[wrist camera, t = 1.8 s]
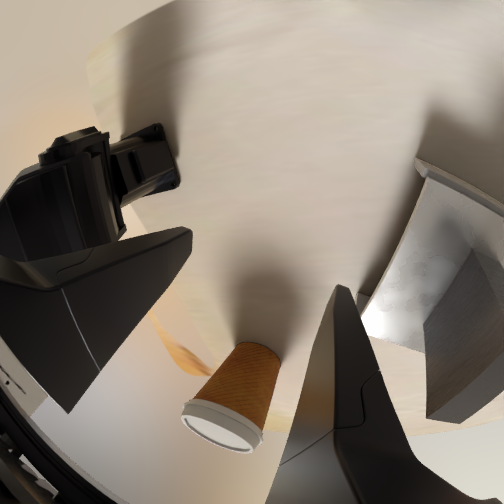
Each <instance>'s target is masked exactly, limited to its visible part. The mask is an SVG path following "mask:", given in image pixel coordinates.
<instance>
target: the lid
mask: <svg viewBox="0 0 504 504" xmlns="http://www.w3.org/2000/svg"><path fill="white" fill-rule="evenodd" d="M360 317H361V319H362V322H363V324H364V327H365V330H366V332H367V334H368V335H371V336H374V337H377V338H379V339H382V340H385V341H388V342H391V343H394V344H397V345H400V346H404V347H407V348H410V349H413V350H416V351H419V352H422V353H425V357H426V386H427V397H426V419H432V420H437V421H443V422H450V423H457V424H460V423H462V422H463V421H465V420H466V419H468V418H469V417H470V416H472V415H473V414H475V413H476V412H477V411H479V410H480V409H481V408H483V407H484V406H485V405H486V404H488V403H489V402H490V401H491V400H493V399H494V398H495V397H496V396H498V395H499V394H500V393H501V392H502V391H503V390H504V217H503V216H501V215H500V214H498V213H497V212H495V211H493V210H492V209H490V208H488V207H487V206H485V205H483V204H482V203H480V202H478V201H476V200H475V199H473V198H471V197H469V196H467V195H465V194H464V193H462V192H460V191H458V190H456V189H454V188H452V187H450V186H448V185H446V184H444V183H442V182H440V181H438V180H436V179H434V178H432V177H429V176H427V177H426V180H425V183H424V186H423V188H422V191H421V193H420V196H419V198H418V201H417V203H416V206H415V208H414V211H413V213H412V215H411V218H410V220H409V222H408V225H407V227H406V229H405V231H404V233H403V236H402V238H401V240H400V242H399V244H398V246H397V248H396V250H395V253H394V255H393V257H392V259H391V261H390V263H389V265H388V267H387V268H386V270H385V272H384V274H383V276H382V278H381V280H380V282H379V284H378V285H377V287H376V289H375V291H374V293H373V294H372V296H371V298H370V300H369V302H368V303H367V305H366V307H365V308H364V310H363V312H362V313H361V315H360Z"/></svg>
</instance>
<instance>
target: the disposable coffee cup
mask: <svg viewBox="0 0 504 504" xmlns="http://www.w3.org/2000/svg"><path fill="white" fill-rule="evenodd" d="M279 369H280V360H279V358H278V357H277V356H276V355H275V353H273V352H272V351H271V350H269V349H268V348H266V347H264V346H262V345H259V344H256V343H250V342H244V343H240V344H238V345H237V346H236V347H235V349H234V350H233V351H232V352H231V354H230V355H229V356H228V357H227V359H226V360H225V361H224V362H223V363H222V365H221V366H220V367H219V368H218V370H217V371H216V372H215V373H214V374H213V376H212V377H211V378H210V379H209V380H208V382H207V383H206V384H205V385H204V386H203V388H202V389H201V390H200V391H199V392H198V393H197V395H196V396H195V397H194V398H193V399H192V400H189V402H187V403H185V404H184V405H183V413H182V415H181V420H182V422H183V423H184V424H185V425H186V426H187V427H188V428H189V429H190V430H191V431H193V432H194V433H195V434H197V435H198V436H200V437H202V438H203V439H205V440H207V441H209V442H211V443H213V444H215V445H217V446H219V447H222V448H225V449H228V450H231V451H234V452H239V453H251V452H253V451H254V449H255V448H256V447H257V446H259V445H261V444H262V442H263V439H262V435H263V433H262V430H263V427H264V424H265V420H266V417H267V413H268V410H269V406H270V402H271V399H272V395H273V392H274V388H275V384H276V380H277V377H278V373H279Z"/></svg>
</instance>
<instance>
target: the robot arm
mask: <svg viewBox="0 0 504 504" xmlns="http://www.w3.org/2000/svg"><path fill="white" fill-rule="evenodd" d="M156 127H157V128H158V130H157V129H156ZM109 138H110V136H109V132H105V133H101V131H98V130H97V129H96V128H95V127H94V126H93V127H89V128H85V129H82V130H78V131H75V132H72V133H69V134H66V135H63V136H61V137H58V138H56V139H55V140H54V142H53V144H52V145H51V147H49V148H47V149H46V151H44V152H43V153H41V154H39V155H38V157H39V163H37V164H35V165H33V166H30V167H28V168H25V169H24V170H22V171H21V172H20V173H19V174H18V175H17V177H16V178H15V179H14V180H13V182H12V183H11V185H10V186H9V187H8V189H7V190H6V191H5V193H4V194H3V196H2V197H1V199H0V504H128V503H127V502H126V501H124V500H123V499H121V498H120V497H118V496H117V495H115V494H114V493H112V492H111V491H109V490H108V489H107V488H105V487H104V486H103V485H101V484H100V483H99V482H97V481H96V480H95V479H94V478H92V477H91V476H90V475H89V474H87V473H86V472H85V471H84V470H82V469H81V468H80V467H79V466H78V465H76V463H74V462H73V461H72V460H71V459H70V458H69V457H68V456H67V455H66V454H65V453H63V452H62V451H61V450H60V449H59V448H58V447H57V446H56V445H55V444H54V443H53V442H52V441H51V440H50V439H49V438H48V437H47V436H46V435H45V434H44V433H43V431H42V430H41V429H40V428H39V427H38V426H37V425H36V424H35V422H34V421H33V420H32V419H31V418H30V416H31V415H32V414H33V413H34V412H35V410H36V409H37V408H38V407H39V406H40V404H41V403H42V402H43V401H44V400H45V399H46V398H47V397H48V396H50V397H51V398H52V399H53V400H54V401H55V402H56V403H57V404H58V405H59V406H60V407H61V408H62V409H63V410H64V411H65V412H66V413H67V414H69V413H70V412H71V411H72V409H73V408H74V406H75V405H76V404H77V402H78V401H79V400H80V398H81V397H82V395H83V394H84V393H85V391H86V390H87V389H88V387H89V386H90V385H91V383H92V382H93V381H94V379H95V378H96V377H97V376H98V374H99V373H100V371H101V370H102V369H103V367H104V366H105V365H106V364H107V362H108V361H109V360H110V358H111V357H112V356H113V355H114V353H115V352H116V351H117V349H118V348H119V347H120V346H121V344H122V343H123V342H124V341H125V339H126V338H127V337H128V336H129V334H130V333H131V332H132V330H133V329H134V328H135V327H136V326H137V324H138V323H139V322H140V321H141V319H142V318H143V317H144V316H145V315H146V313H147V312H148V311H149V310H150V309H151V307H152V306H153V305H154V304H155V302H156V301H157V300H158V299H159V298H160V297H161V295H162V294H163V293H164V292H165V291H166V289H167V288H168V287H169V286H170V284H171V283H172V281H173V280H174V278H175V277H176V275H177V274H178V272H179V271H180V269H181V268H182V266H183V265H184V263H185V262H186V261H187V259H188V258H189V256H190V254H191V252H192V238H193V233H192V230H191V229H188V228H186V227H183V226H180V227H176V228H171V229H167V230H163V231H158V232H154V233H150V234H145V235H141V236H137V237H133V238H129V239H125V240H121V241H118V240H119V239H120V238H121V237H122V235H123V234H124V233H125V232H126V230H127V229H126V225H125V224H124V221H123V217H122V212H121V208H122V207H124V206H126V205H128V204H129V203H131V202H133V201H135V200H137V199H138V198H141V197H144V196H148V195H152V194H156V193H160V192H164V191H168V190H173V189H175V188H177V187H179V184H180V183H179V179H178V176H177V173H176V170H175V167H174V164H173V160H172V157H171V154H170V151H169V147H168V144H167V141H166V138H165V134H164V131H163V127H162V125H161V124H160V123H156V124H153V125H151V126H149V127H146V128H144V129H142V130H140V131H138V132H136V133H134V134H132V135H130V136H128V137H126V138H124V139H122V140H120V141H119V142H116V143H113V144H110V145H109ZM173 182H174V183H175V185H174V184H173ZM22 454H23V455H24V456H25V457H26V458H27V459H28V460H29V462H30V463H31V464H32V465H33V466H34V467H35V468H36V469H37V470H38V471H39V473H40V474H41V475H42V476H43V477H44V478H45V479H46V480H47V481H48V482H49V483H50V484H51V485H52V486H53V487H55V488H56V489H57V490H58V491H59V492H57V491H56V490H55V489H53V488H52V487H51V486H50V485H49V484H48V483H47V482H46V481H45V480H43V479H40V478H38V476H37V475H36V474H35V472H34V471H33V470H32V469H31V468H30V467H28V466H27V465H26V464H25V463H23V462H22V461H21V460H20V459H19V458H20V456H21V455H22ZM265 504H502V502H501V501H499V500H498V499H497V498H491V499H486V500H478V499H474V498H472V497H469V496H468V495H466V494H464V493H462V492H461V491H460V490H458V489H457V488H455V487H454V486H452V485H451V484H449V483H448V482H446V481H445V480H444V479H442V478H441V477H439V476H438V475H437V474H435V473H434V472H432V471H431V470H430V469H428V468H427V467H426V466H424V465H423V464H422V463H421V462H420V461H419V460H418V459H417V458H416V456H415V455H414V453H413V452H412V450H411V448H410V446H409V443H408V441H407V438H406V436H405V433H404V431H403V428H402V426H401V423H400V421H399V419H398V416H397V414H396V412H395V409H394V407H393V404H392V402H391V399H390V397H389V394H388V391H387V389H386V386H385V383H384V380H383V377H382V374H381V371H379V366H378V363H377V360H376V357H375V354H374V351H373V349H372V346H371V343H370V340H369V338H368V335H367V332H366V330H365V327H364V324H363V322H362V319H361V317H360V314H359V312H358V309H357V306H356V304H355V302H354V299H353V297H352V294H351V292H350V289H349V288H347V287H345V286H342V285H339V284H338V285H336V287H335V289H334V291H333V293H332V295H331V297H330V299H329V302H328V304H327V306H326V309H325V312H324V315H323V318H322V321H321V324H320V327H319V330H318V332H317V335H316V338H315V341H314V344H313V347H312V351H311V355H310V359H309V363H308V367H307V371H306V375H305V379H304V383H303V387H302V391H301V395H300V399H299V402H298V406H297V409H296V413H295V416H294V420H293V423H292V427H291V430H290V433H289V437H288V440H287V443H286V446H285V449H284V452H283V455H282V458H281V461H280V464H279V467H278V470H277V473H276V476H275V478H274V481H273V484H272V487H271V489H270V492H269V495H268V497H267V500H266V502H265Z"/></svg>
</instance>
